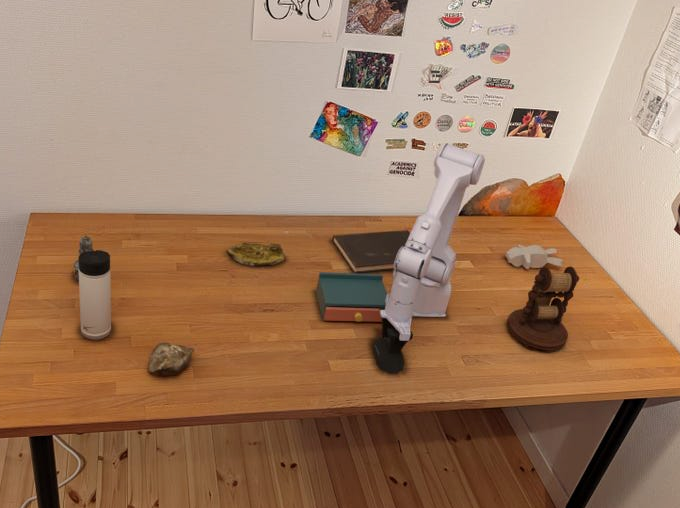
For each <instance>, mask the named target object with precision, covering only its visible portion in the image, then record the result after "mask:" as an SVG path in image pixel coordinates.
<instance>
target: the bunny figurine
mask: <svg viewBox="0 0 680 508" xmlns="http://www.w3.org/2000/svg"><path fill="white" fill-rule="evenodd" d="M557 252H558V250H557V249H556V248H554V247H551V248H547V249H544V248H543V247H542V246H541V245H538V244H531V245H528V246H524V245H523V244H518V245H517V246H513V247H511V248H510V249H508V250H505V258H506V259H507V262H508V264H512V266H513V267H517V268H518V267H521V266H522V267H524V269H526V270H529V269H530V268H532V269H539V268H540V269H541V268H542V267H544V266H546V264H547V263H548V264H551V265H554V266H557V267H562V266H563V265H564V264H563V263H564V260H563V259H562V258H559V257H553V256H552V255H556V254H557Z"/></svg>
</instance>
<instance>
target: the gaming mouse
mask: <svg viewBox="0 0 680 508" xmlns="http://www.w3.org/2000/svg"><path fill="white" fill-rule="evenodd" d="M388 345H389V338H387V337H384V338H382V335H379V336H378V337H377V338H375V339H373V340H372V344H371V348H372V353H373V357H374V361H375V364H376V366H377V368H378V369H379V370H380V371H382V372H384V373H387V374H389V375H397V374H399V373H401V372H403V371H404V367H405V359H404V354H403V351H402V350H401V351H400V353H399V354H394V353H388Z"/></svg>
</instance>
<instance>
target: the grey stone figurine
mask: <svg viewBox="0 0 680 508" xmlns="http://www.w3.org/2000/svg"><path fill="white" fill-rule="evenodd" d="M78 242H79V249H78V251H77V253H78V256H79V255H80V254H81V253H83V252H86V251H87V252H89V251H95V250H94V248H93V240H92V238H91V237H89V236H88V235H87V234H85V235H84V236H83V237H81V238H80V239H79V241H78ZM72 267H73V269H74V270H75V273H76V274H75V276H74V279H75V281H76V282H77V283H79V260H78V259H77V260H75V261H74V263H73V266H72Z"/></svg>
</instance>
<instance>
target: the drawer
mask: <svg viewBox="0 0 680 508" xmlns="http://www.w3.org/2000/svg"><path fill="white" fill-rule="evenodd" d="M380 308H381V307H351V306H329V307H326V309H325V314H324V320H323V321H332V322H333V321H334V322H357V323H359V322H370V323H371V322H372V323H373V322H374V323H375V322H377V323H378V322H379V323H382V318H381V315H380V310H379V309H380Z"/></svg>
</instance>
